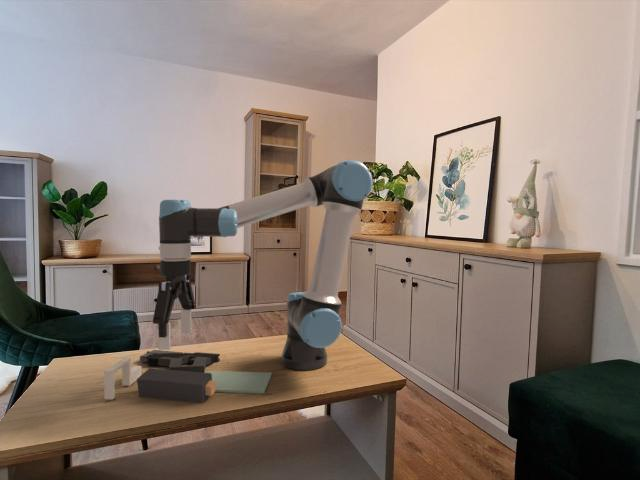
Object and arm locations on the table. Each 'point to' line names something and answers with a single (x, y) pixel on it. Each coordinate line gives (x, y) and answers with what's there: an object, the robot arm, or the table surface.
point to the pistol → (180, 360)
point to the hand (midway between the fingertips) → (176, 340)
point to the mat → (240, 381)
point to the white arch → (127, 376)
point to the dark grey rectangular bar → (176, 385)
